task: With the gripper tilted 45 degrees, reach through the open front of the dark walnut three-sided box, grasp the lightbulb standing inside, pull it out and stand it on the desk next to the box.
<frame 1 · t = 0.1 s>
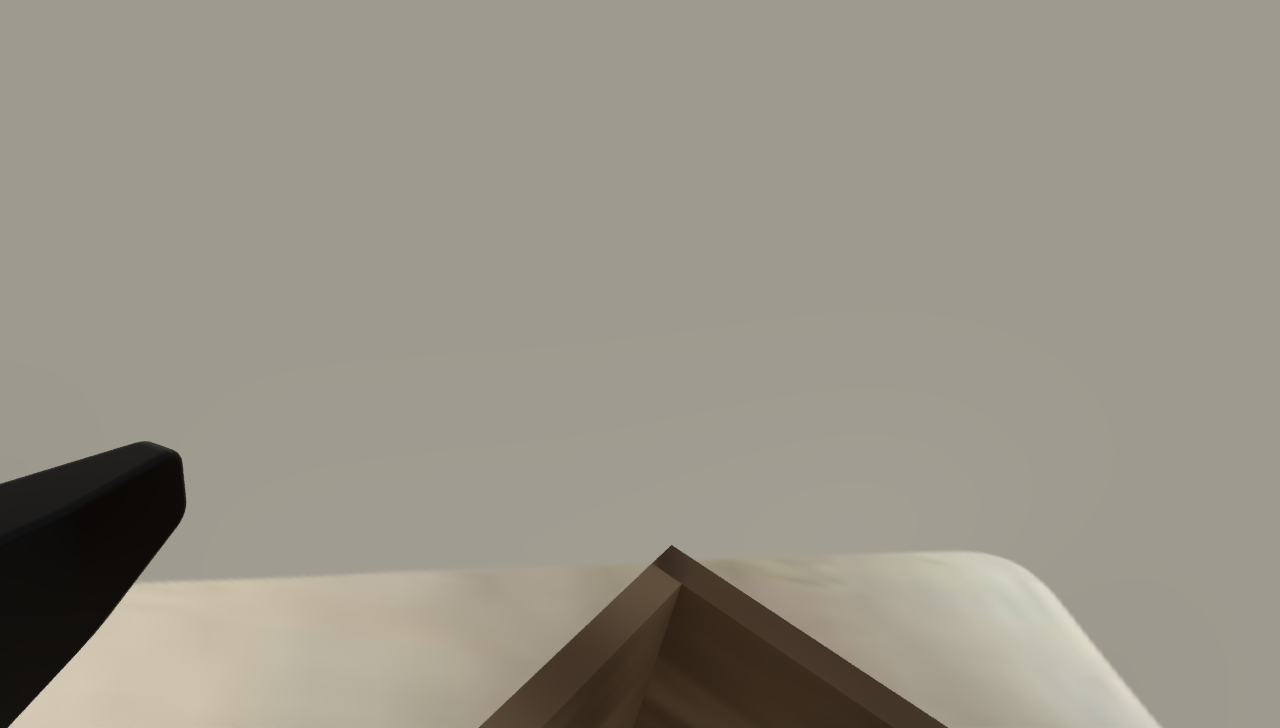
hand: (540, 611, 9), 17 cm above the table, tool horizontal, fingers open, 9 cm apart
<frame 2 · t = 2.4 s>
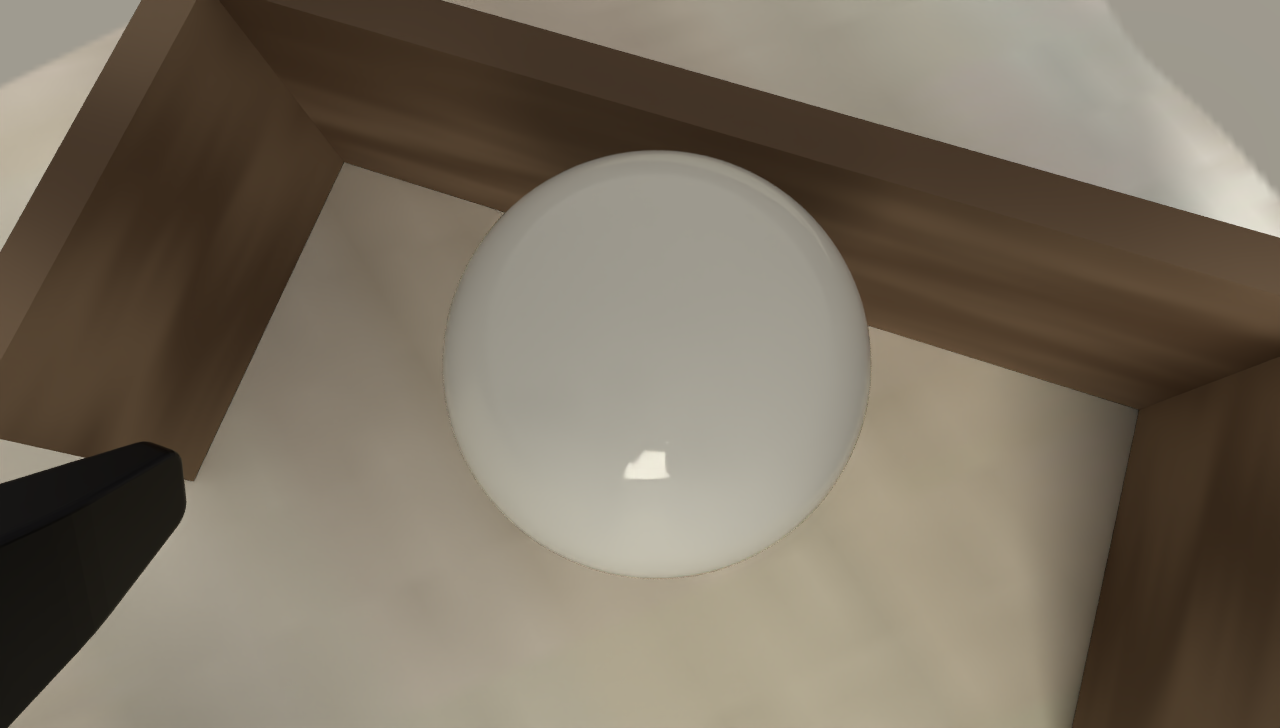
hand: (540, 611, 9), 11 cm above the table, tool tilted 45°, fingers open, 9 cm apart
lightbulb: (661, 447, 21), on the table
open box: (661, 445, 21), on the table
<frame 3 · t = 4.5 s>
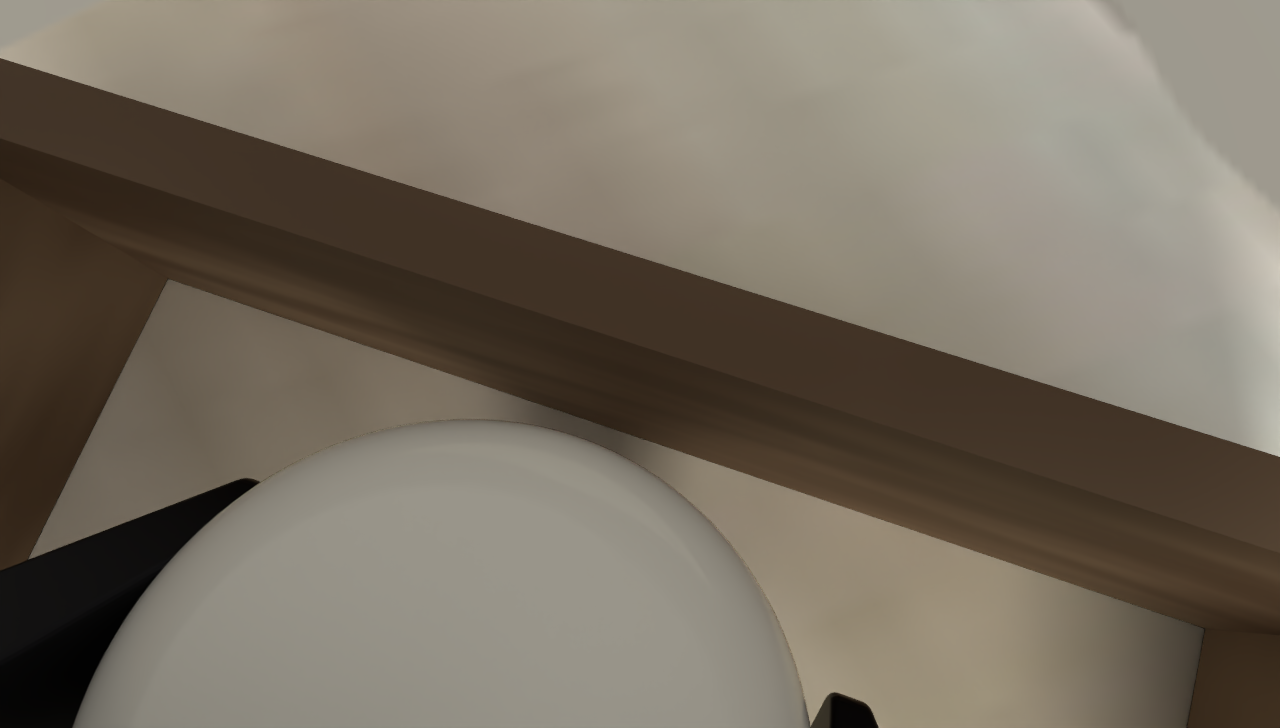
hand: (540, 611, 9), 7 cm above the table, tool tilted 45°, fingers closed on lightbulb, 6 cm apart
lightbulb: (568, 673, 16), on the table, touching gripper
open box: (567, 674, 15), on the table
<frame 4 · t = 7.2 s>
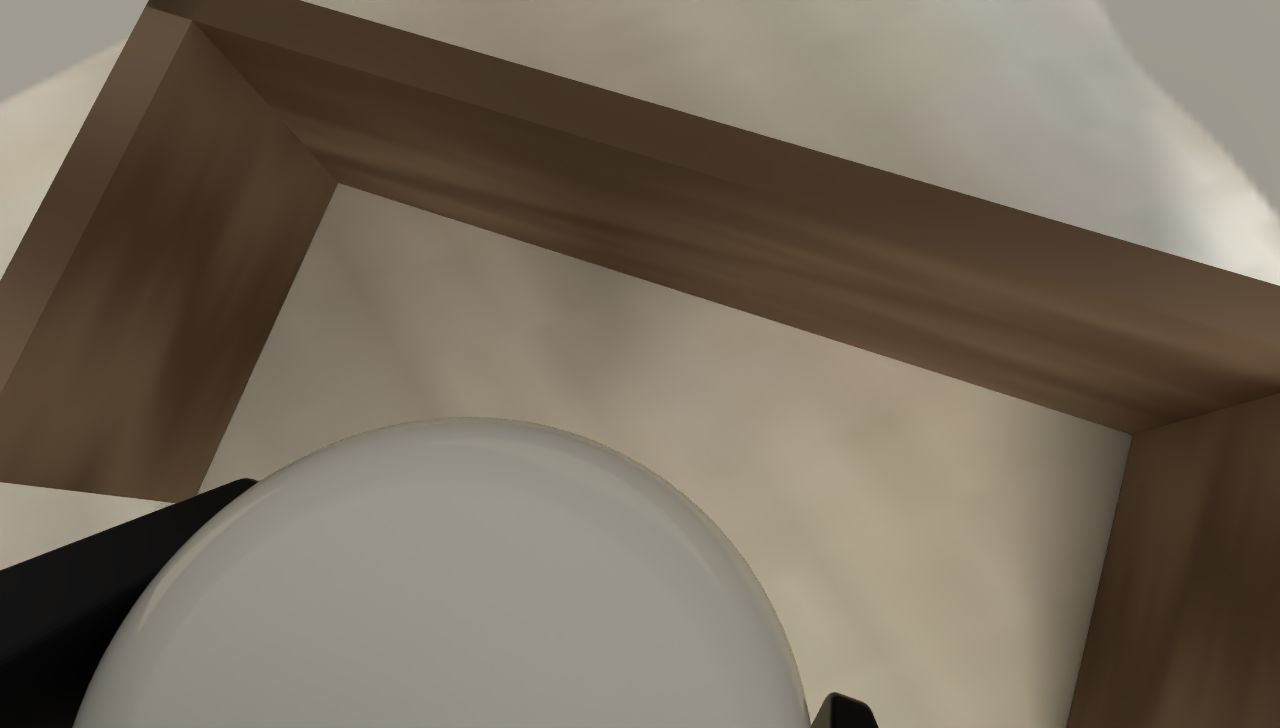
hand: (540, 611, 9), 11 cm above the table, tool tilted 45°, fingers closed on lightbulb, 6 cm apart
lightbulb: (569, 670, 16), point 4 cm above the table, touching gripper
open box: (655, 470, 21), on the table
when the fingers open (8 cm above the table, at t = 10.1 s): lightbulb drops 1 cm, on the table.
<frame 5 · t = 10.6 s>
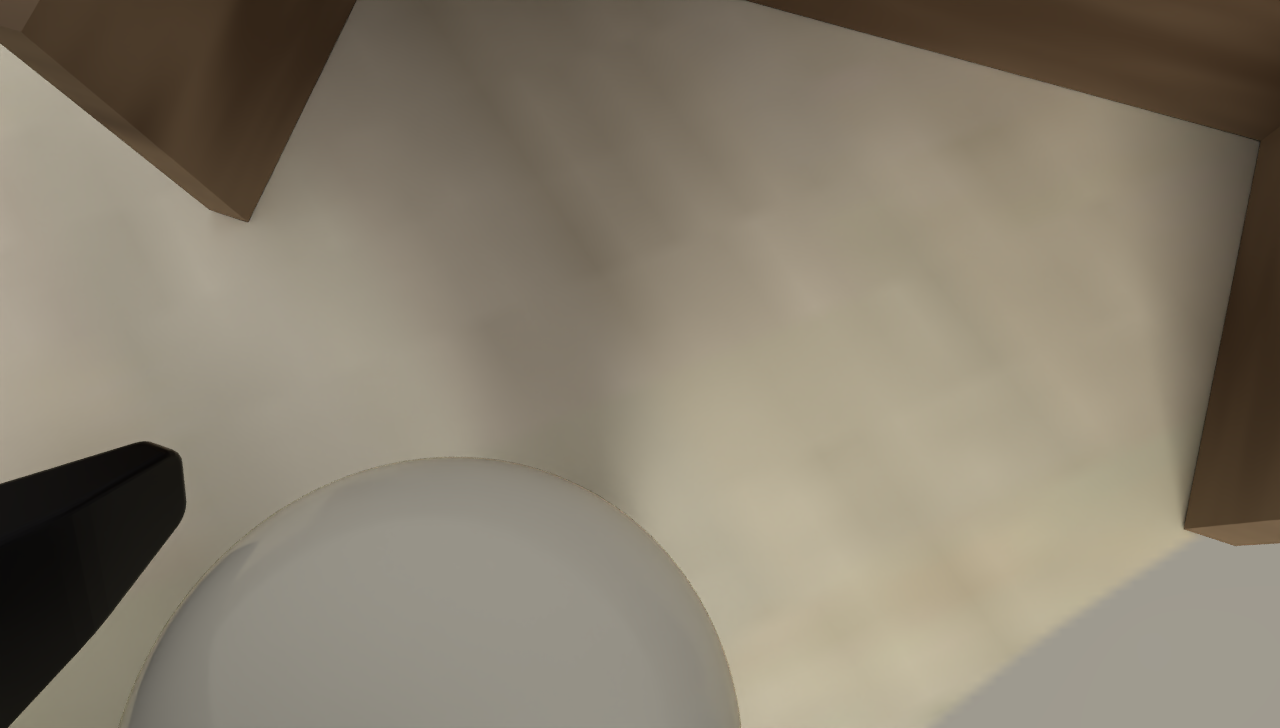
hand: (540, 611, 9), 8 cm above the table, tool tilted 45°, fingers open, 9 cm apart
lightbulb: (566, 672, 17), on the table
open box: (748, 182, 19), on the table
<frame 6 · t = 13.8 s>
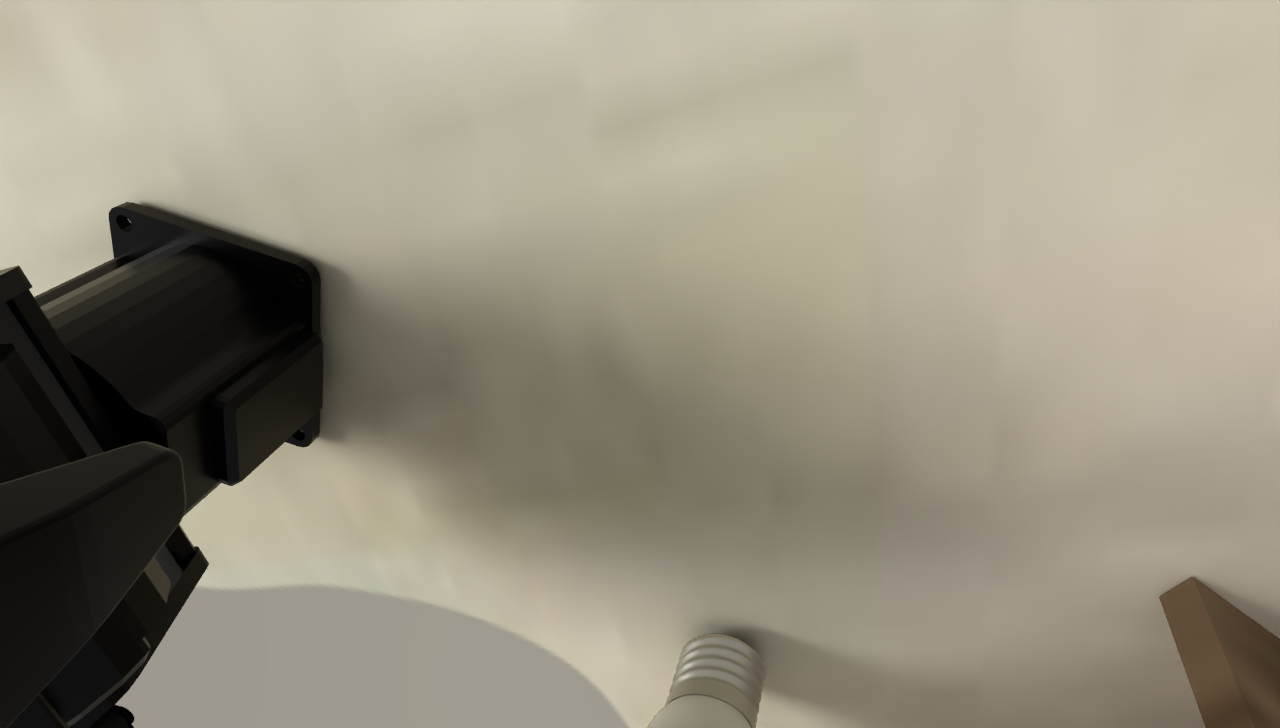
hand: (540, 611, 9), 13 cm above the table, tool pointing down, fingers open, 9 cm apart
lightbulb: (727, 644, 27), on the table
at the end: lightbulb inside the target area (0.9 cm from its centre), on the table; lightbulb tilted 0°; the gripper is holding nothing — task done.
